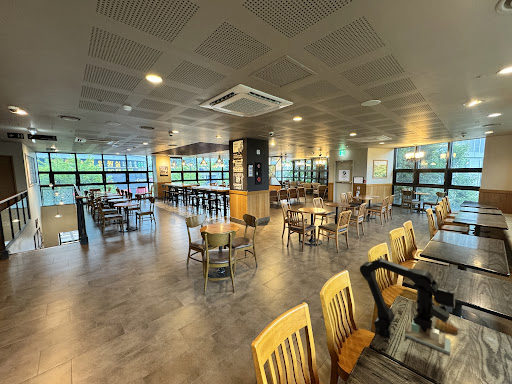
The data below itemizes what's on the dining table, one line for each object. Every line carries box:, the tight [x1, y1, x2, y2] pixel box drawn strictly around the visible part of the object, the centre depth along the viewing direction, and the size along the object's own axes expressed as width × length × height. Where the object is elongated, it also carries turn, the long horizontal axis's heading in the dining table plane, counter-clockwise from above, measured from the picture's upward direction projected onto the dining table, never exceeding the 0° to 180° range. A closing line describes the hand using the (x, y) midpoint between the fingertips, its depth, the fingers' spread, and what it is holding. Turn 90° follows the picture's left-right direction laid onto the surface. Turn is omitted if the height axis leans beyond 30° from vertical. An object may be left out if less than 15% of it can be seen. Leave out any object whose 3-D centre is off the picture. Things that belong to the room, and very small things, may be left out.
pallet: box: [405, 320, 446, 350], centre depth 98 cm, size 14×7×7 cm, turn 45°
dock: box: [405, 333, 451, 355], centre depth 107 cm, size 17×10×2 cm, turn 45°
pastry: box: [434, 318, 459, 335], centre depth 114 cm, size 9×7×4 cm
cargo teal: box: [410, 320, 419, 332], centre depth 101 cm, size 3×3×3 cm
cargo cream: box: [430, 327, 440, 340], centre depth 96 cm, size 3×3×3 cm
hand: (424, 330), depth 98 cm, fingers closed on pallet, 2 cm apart
